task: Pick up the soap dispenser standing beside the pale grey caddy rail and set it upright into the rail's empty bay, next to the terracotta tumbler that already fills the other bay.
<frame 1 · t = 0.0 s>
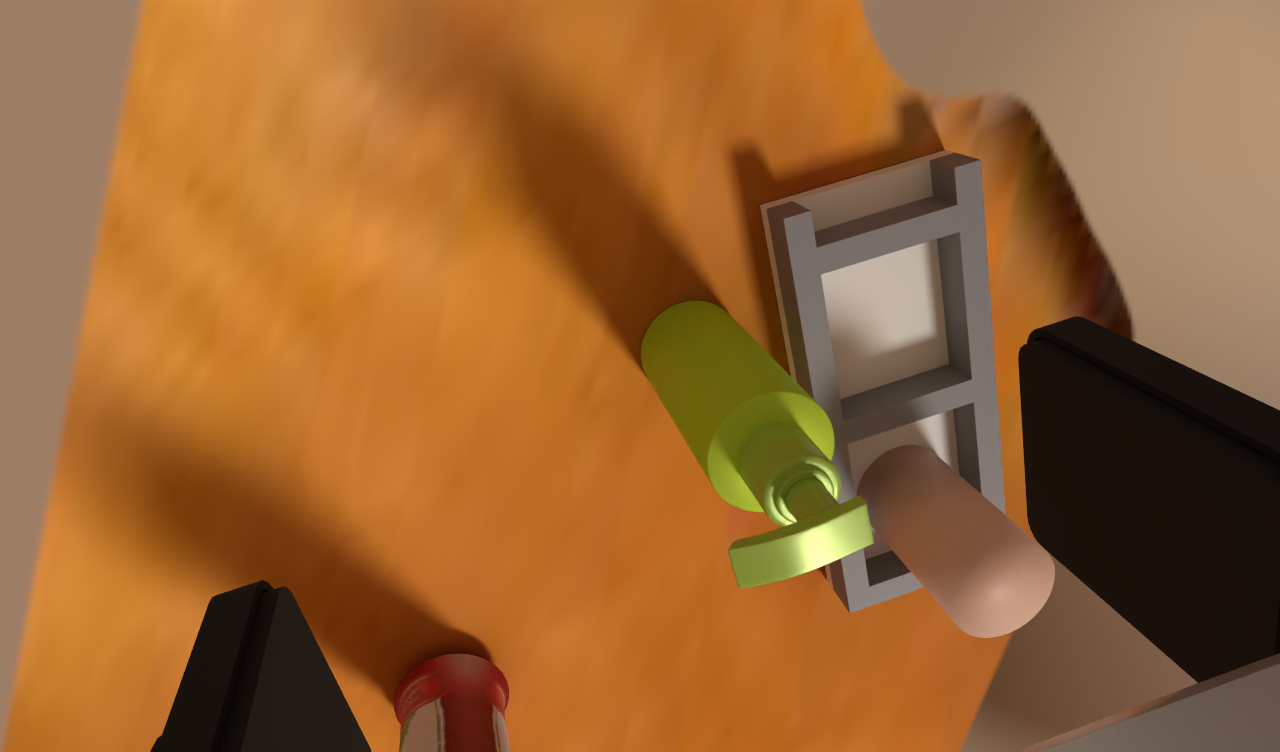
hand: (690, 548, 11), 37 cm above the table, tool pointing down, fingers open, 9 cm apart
caddy rail: (881, 384, 55), on the table
soap dispenser: (681, 351, 51), on the table
liquor: (451, 682, 56), on the table
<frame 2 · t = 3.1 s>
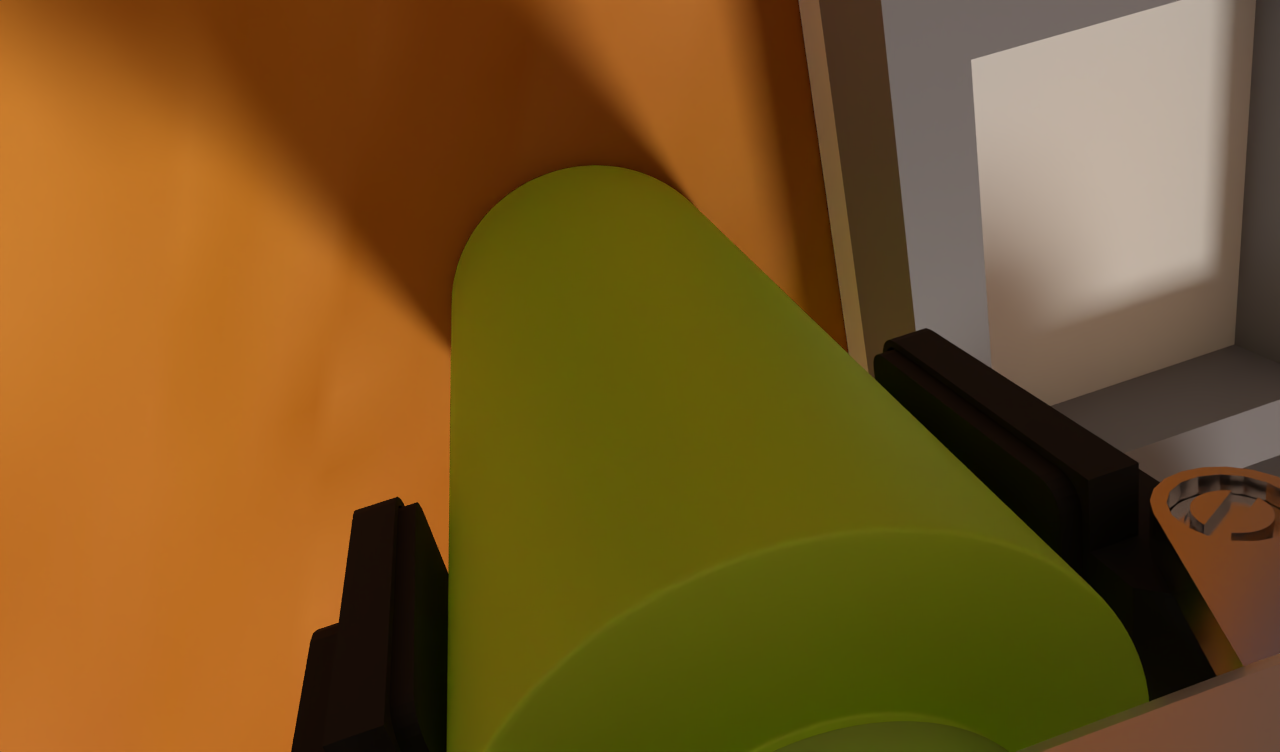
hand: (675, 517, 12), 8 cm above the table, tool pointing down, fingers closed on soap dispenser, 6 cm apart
caddy rail: (1063, 394, 23), on the table
soap dispenser: (569, 309, 19), on the table, touching gripper
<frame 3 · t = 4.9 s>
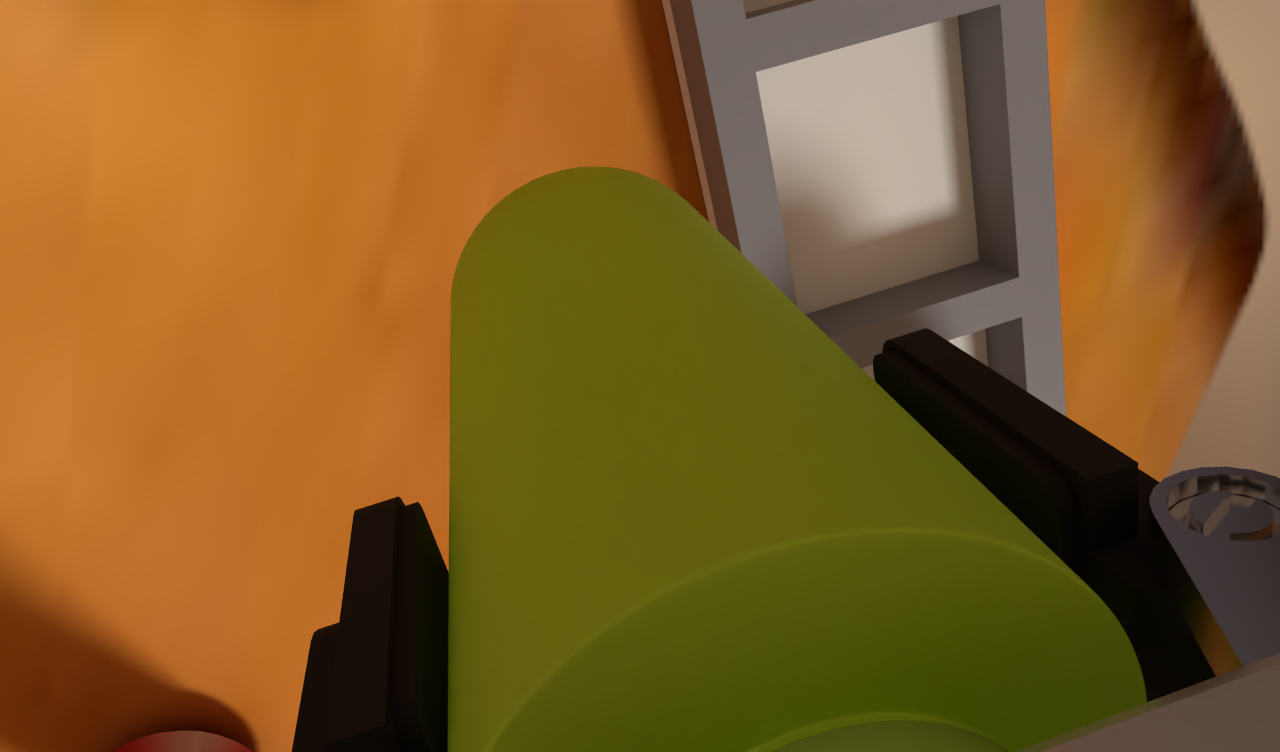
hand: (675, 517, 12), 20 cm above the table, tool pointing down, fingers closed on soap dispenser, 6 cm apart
caddy rail: (869, 296, 34), on the table
soap dispenser: (568, 310, 19), point 12 cm above the table, touching gripper
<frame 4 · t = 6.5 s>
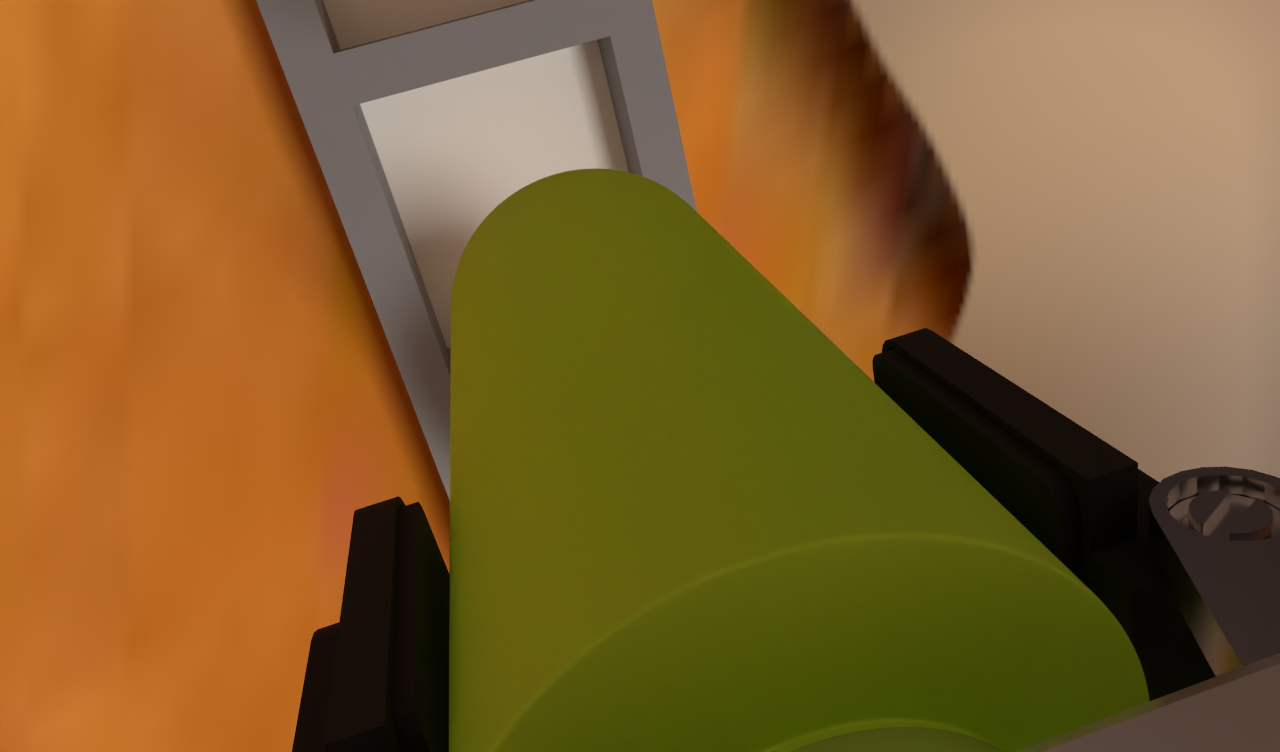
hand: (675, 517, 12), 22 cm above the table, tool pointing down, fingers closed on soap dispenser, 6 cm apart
caddy rail: (553, 319, 34), on the table
soap dispenser: (568, 312, 19), point 14 cm above the table, touching gripper
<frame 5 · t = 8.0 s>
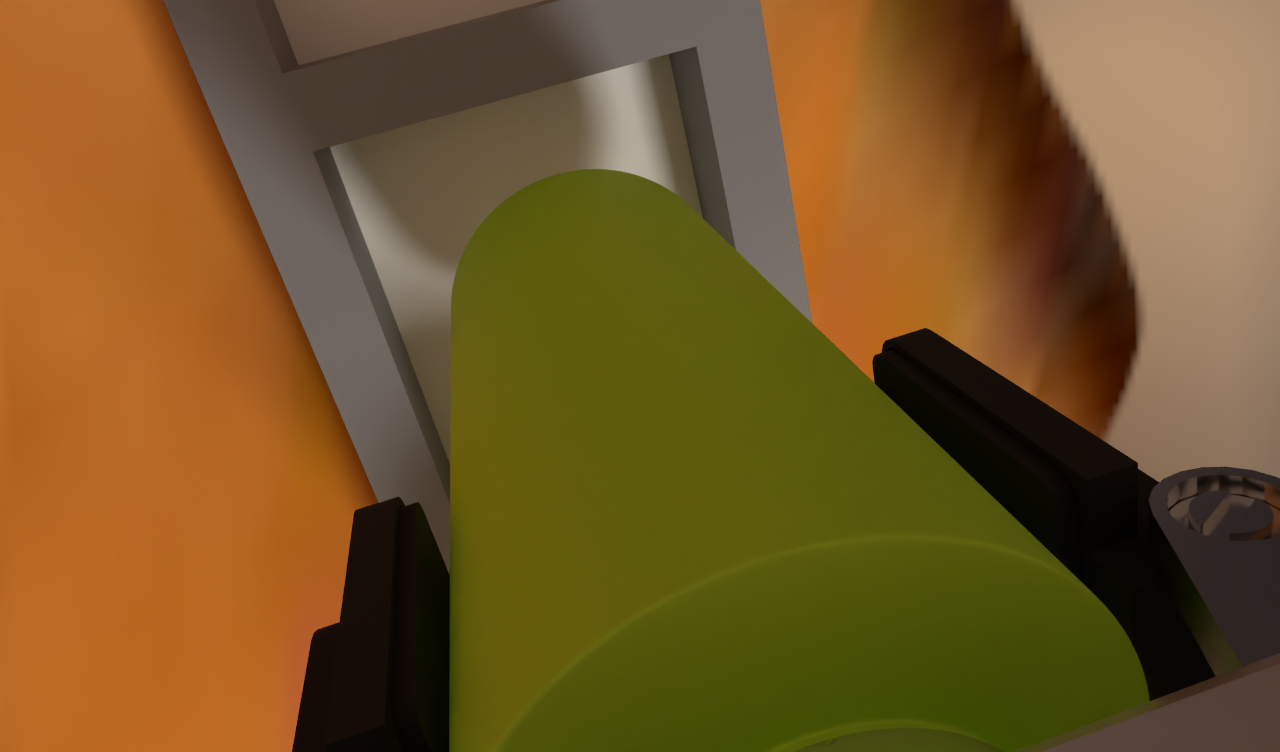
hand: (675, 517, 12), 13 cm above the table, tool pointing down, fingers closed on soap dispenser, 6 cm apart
caddy rail: (595, 426, 25), on the table
soap dispenser: (568, 312, 19), point 4 cm above the table, touching gripper
when the fingers open (10 cm above the table, at t = 9.5 s): soap dispenser stays where it is, resting on caddy rail.
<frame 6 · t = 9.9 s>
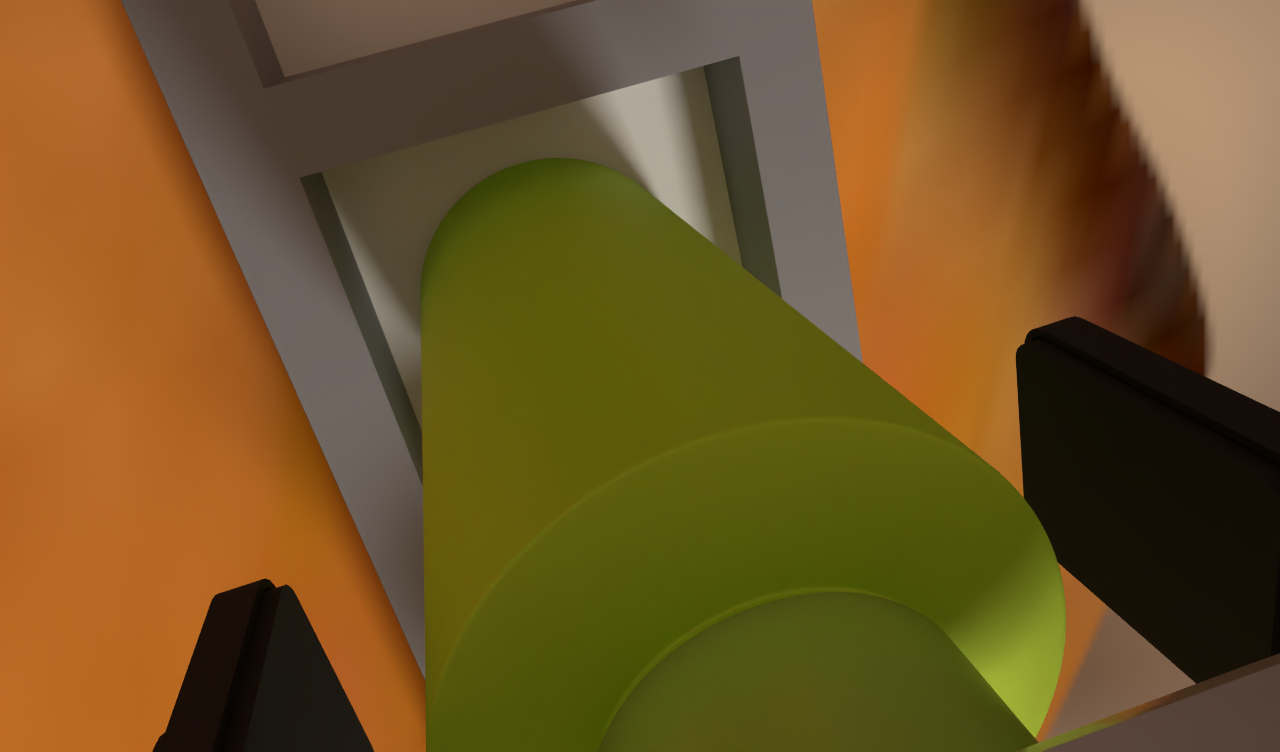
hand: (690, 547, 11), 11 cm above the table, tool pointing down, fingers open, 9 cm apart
caddy rail: (616, 472, 23), on the table
soap dispenser: (534, 298, 20), point 1 cm above the table, touching caddy rail
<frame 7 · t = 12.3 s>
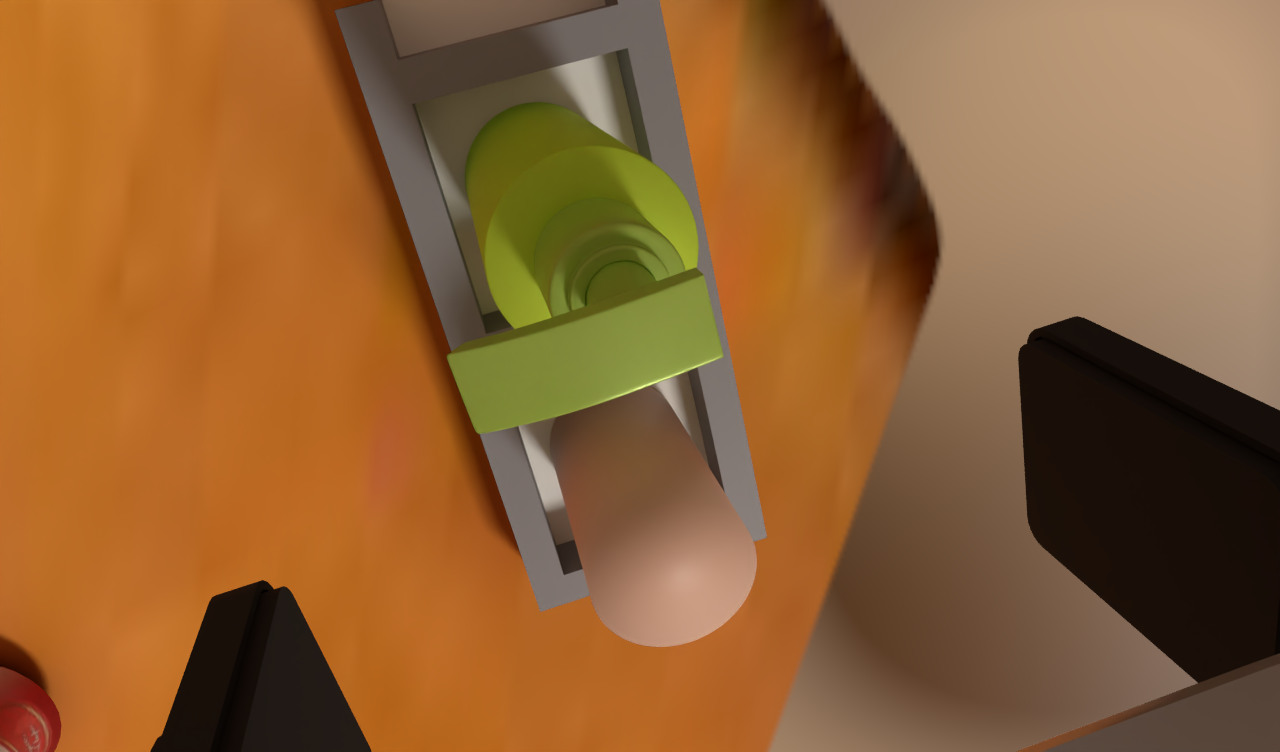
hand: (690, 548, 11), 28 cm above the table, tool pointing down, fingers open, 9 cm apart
caddy rail: (573, 292, 39), on the table
soap dispenser: (526, 181, 36), point 1 cm above the table, touching caddy rail
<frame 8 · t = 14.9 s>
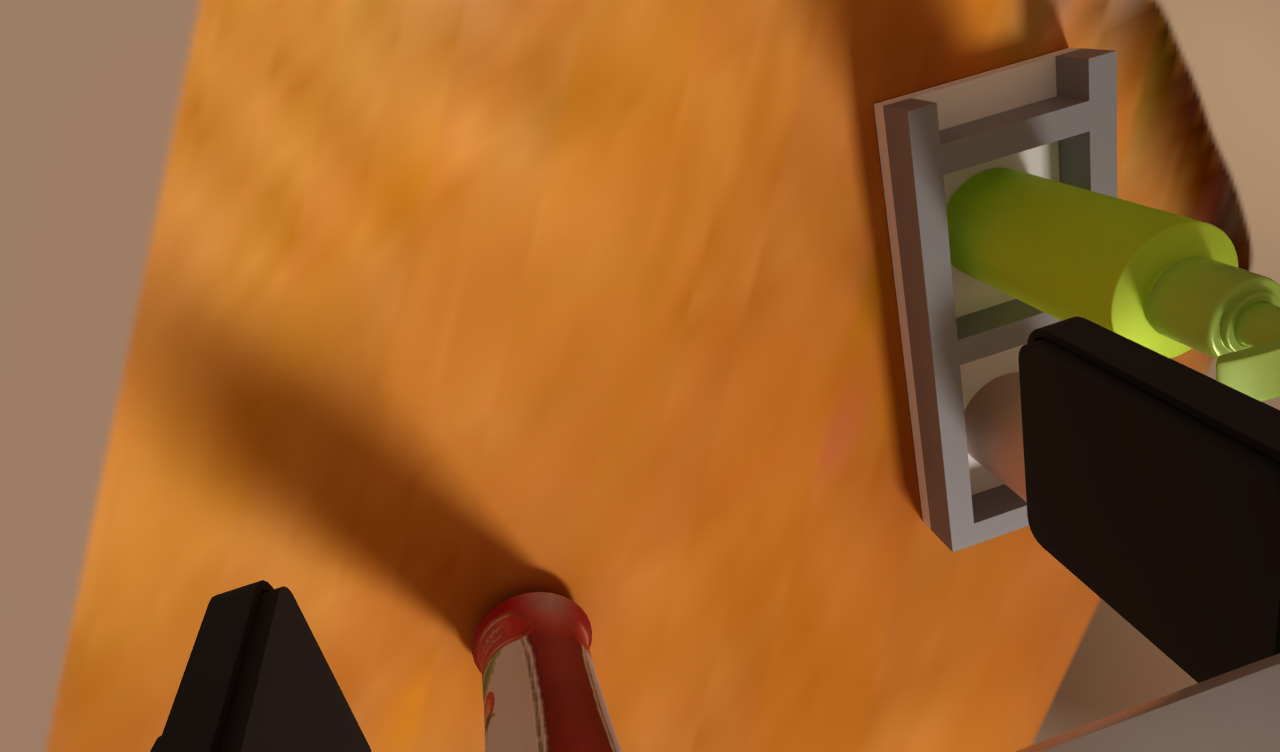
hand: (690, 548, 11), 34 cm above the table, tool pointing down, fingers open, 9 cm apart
caddy rail: (989, 307, 51), on the table
soap dispenser: (979, 225, 48), point 1 cm above the table, touching caddy rail
liquor: (529, 625, 53), on the table
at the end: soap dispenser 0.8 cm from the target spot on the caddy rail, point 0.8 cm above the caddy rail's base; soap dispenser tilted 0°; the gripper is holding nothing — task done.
